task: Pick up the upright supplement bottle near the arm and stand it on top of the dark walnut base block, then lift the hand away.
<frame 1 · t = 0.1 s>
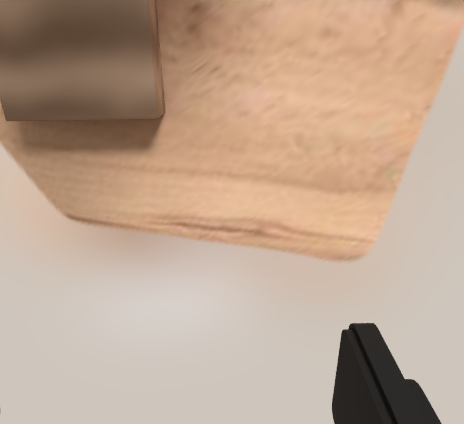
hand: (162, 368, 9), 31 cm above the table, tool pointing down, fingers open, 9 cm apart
walnut base: (84, 37, 34), on the table
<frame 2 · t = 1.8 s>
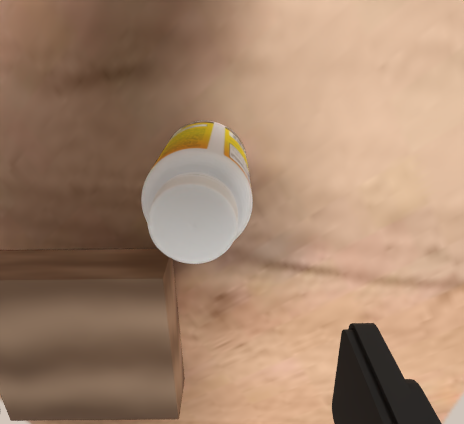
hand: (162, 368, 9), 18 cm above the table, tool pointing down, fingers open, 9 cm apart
walnut base: (96, 320, 31), on the table
supplement bottle: (207, 158, 25), on the table
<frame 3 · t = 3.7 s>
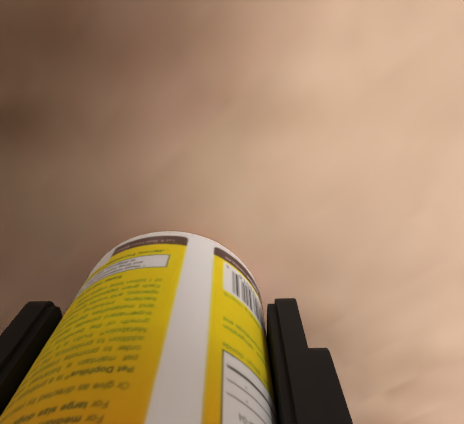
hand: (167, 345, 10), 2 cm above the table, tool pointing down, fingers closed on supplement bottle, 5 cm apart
supplement bottle: (178, 295, 12), on the table, touching gripper
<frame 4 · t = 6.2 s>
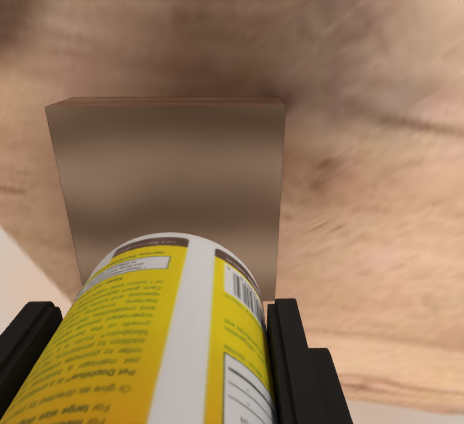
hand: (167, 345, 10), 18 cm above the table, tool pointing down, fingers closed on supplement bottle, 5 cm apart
walnut base: (181, 193, 28), on the table
supplement bottle: (178, 296, 12), point 16 cm above the table, touching gripper
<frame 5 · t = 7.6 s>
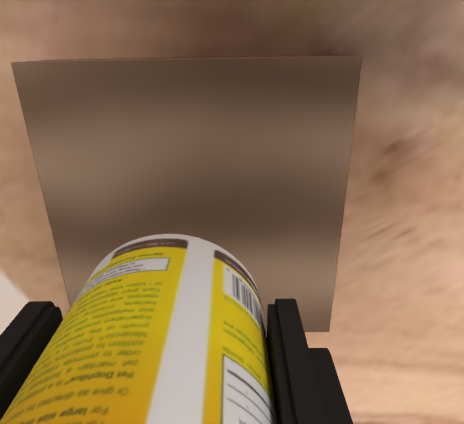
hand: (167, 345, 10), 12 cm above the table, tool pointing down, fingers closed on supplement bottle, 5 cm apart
walnut base: (202, 189, 21), on the table
supplement bottle: (178, 298, 12), point 10 cm above the table, touching gripper
when the fingers open (7 cm above the table, at t = 8.8 s): supplement bottle drops 1 cm, resting on walnut base.
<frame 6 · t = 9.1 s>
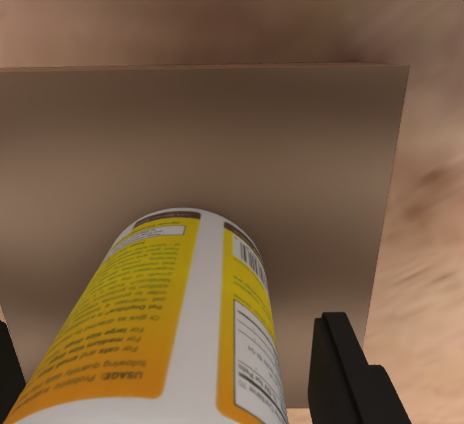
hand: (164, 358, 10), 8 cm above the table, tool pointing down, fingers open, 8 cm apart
walnut base: (193, 227, 17), on the table
supplement bottle: (189, 268, 13), point 4 cm above the table, touching walnut base
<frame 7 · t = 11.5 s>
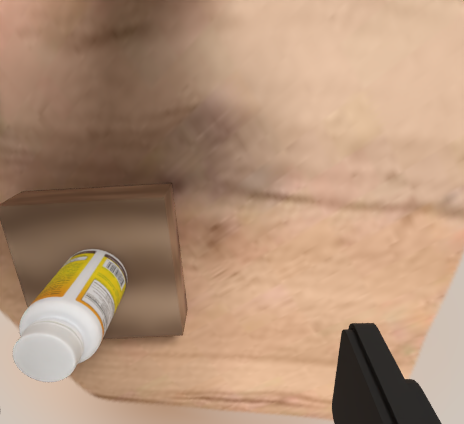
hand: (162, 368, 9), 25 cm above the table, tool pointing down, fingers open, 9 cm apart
walnut base: (110, 254, 36), on the table
supplement bottle: (99, 272, 33), point 4 cm above the table, touching walnut base
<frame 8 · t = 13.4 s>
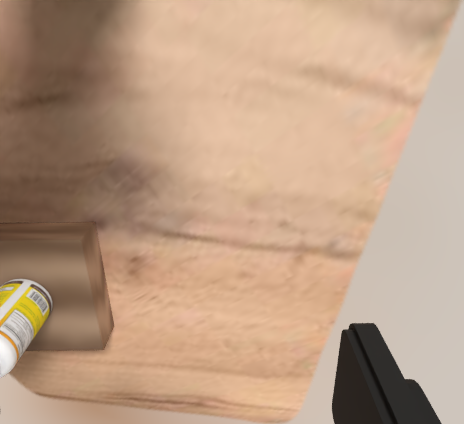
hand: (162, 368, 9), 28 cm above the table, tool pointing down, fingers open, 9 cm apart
walnut base: (44, 278, 42), on the table
supplement bottle: (29, 297, 38), point 4 cm above the table, touching walnut base
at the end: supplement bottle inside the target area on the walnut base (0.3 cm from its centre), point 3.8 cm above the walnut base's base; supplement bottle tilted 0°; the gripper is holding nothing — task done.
